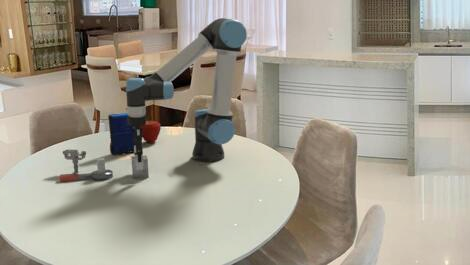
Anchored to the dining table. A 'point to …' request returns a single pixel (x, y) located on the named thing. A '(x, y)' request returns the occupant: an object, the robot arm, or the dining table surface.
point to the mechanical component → (74, 157)
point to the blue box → (120, 134)
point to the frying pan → (90, 174)
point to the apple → (150, 131)
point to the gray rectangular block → (141, 172)
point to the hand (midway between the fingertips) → (138, 164)
